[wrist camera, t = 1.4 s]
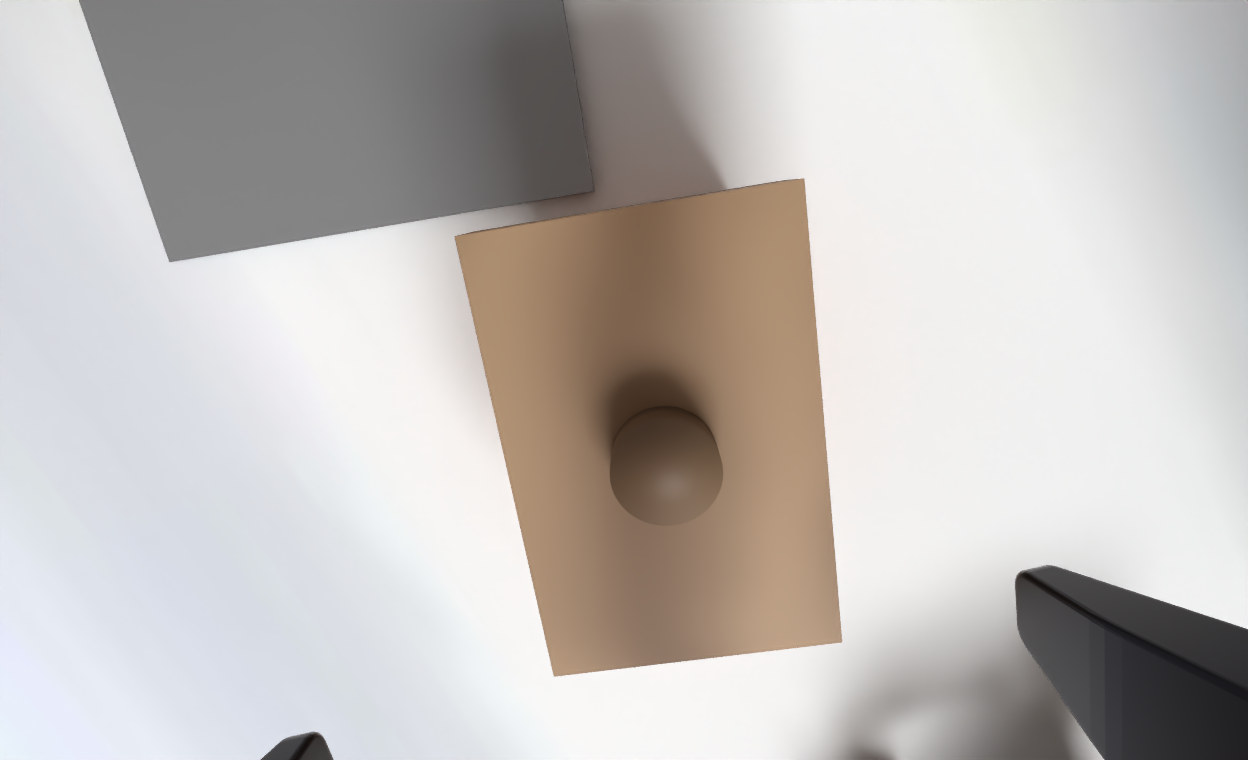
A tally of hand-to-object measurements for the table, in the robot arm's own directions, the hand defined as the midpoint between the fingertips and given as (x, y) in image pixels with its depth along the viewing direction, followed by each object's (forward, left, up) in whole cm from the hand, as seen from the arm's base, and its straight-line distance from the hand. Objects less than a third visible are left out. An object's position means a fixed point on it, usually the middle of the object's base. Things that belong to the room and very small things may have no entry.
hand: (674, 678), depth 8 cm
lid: (0, 0, -9) cm, 9 cm away
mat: (+7, -11, -13) cm, 19 cm away
